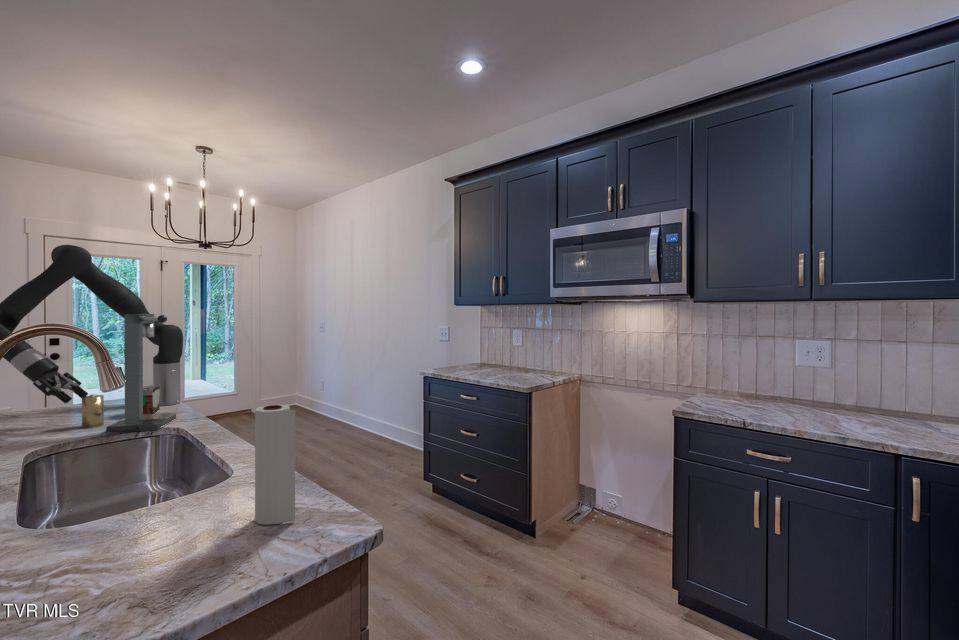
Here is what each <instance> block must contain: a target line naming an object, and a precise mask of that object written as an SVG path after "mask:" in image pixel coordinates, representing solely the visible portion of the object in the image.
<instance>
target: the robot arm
mask: <svg viewBox="0 0 959 640" xmlns="http://www.w3.org/2000/svg"><path fill="white" fill-rule="evenodd" d="M50 253H51V254H50V258H51V261H52V263H51V264H50V265H49V266H48V267H47V268H46V269H45V270H44V271H43V272H41V273H39V275H37V276H35V278H33V279H31V280H29V281H28V282H26V283H24V284H23V285H20V286H19V287H18V288H17V289H15V290H14V291H13V292H11V294H9V295H8V296H7V297H6V298H5V299H3V300H2V301H1V302H0V340H3V339H4V338H6V337H7V336H9V335H10V334H13V332H15V330H16V328H17V327H18V325H19V324H20V323H21V321H22V320H23V318H25V317H26V316H27V315H29V314H30V313H31V312H32V311H33V310H34V309H35V308H36V307H37V306H39V305H40V304H41V303H42V302H43V301H44V300H45V299H46V298H47V297H49V296H50V295H51V294H52V293H54V291H56V290H57V289H58V288H60V287H61V286H62V285H64V284H65V283H66V282H68V281H70V280H71V279H72V278H75V279H76V280H77V281H79V282H80V283H81V284H83V285H84V286H85V287H86V288H87V289H88V290H90V291H91V293H93V294H94V296H96V298H98V299H99V300H100V301H101V302H103V303H104V304H105V305H106V306H108V307H109V308H110V309H111V310H112V311H113V312H115V313H116V314H117V315H119V316H121V317H122V318H123V319H124V314H151V313H150V312H149V311H148V308H147V307H146V305H145V303H144V302H143V300H142V299H141V298H140V297H139V296H138V295H137V294H136V293H134V291H132V290H131V289H130V288H129V287H127V286H126V285H124V284H123V283H122V282H120V281H118V280H117V279H116V278H114V277H112V276H111V275H110V274H107V273H106V272H104V271H103V270H101V269H100V267H98V266H97V265H96V264H95V263H93V260H92V259H93V258H92V255H91V252H89V251H88V250H87V249H86V248H84V247H82V246H78V245H75V244H61V245H58V246H55V247H54V248H53V249H52V251H51V252H50ZM146 339H147V340H149V342H150V343H152V344H153V345H155V346H156V347H157V346H158V351H157V354H156V355H154V356H153V357H152V381H153V382H152V385H160V407H163V406H172V405H177V404H180V403H181V358H182V357H183V356H182V355H183V353H184V352H183V351H184V350H183V349H184V348H183V347H184V333H183V331H182V329H181V328H180V327H179V326H177V325H174V324H164V323H160V322H158V321H154V337H146ZM2 358H3V359H5V360H6V361H7V362H8V363H9V364H11V365H12V366H13V367H14V368H15V370H17V371H18V372H19V373H20V374H22V375H23V376H24V377H26V378H27V379H28V380H30V381H31V382H32V384H33V386H34V387H36V388H37V389H38V390H39V391H40V392H42V393H43V394H45V396H47V397H50V396H51V397H56V398H57V399H58V400H60V401H61V402H63V404H68V403H69V402H71V401H72V399H73V398H72V397H71V396H70V395H69V394H67V393H66V392H65V391H64V390H70V391H72V392H73V393H74V394H75V395H77V396H78V397H79V398H80V399H82V397H85V396H89V395H88V394H89V393H88V392H87V391H86V390H85V389H83V388H82V387H81V385H82V382H81V381H80V380H78V379H77V378H75V377H74V376H73V375H71V373H69V372H67V371H66V372H64V373H60V372H58V371H59V367H60V366H59V365H57V364H56V363H55V362H54V361H53V360H51V359H50V358H48V357H47V356H46V355H45V354H44V353H42V352H41V351H39V350H37V349H36V348H34V346H32V345H31V344H29V343H28V342H27V341H26V340H24V341H22V342H20V343H18V344H16V345H15V346H14V347H12V348H11V349H10V350H9V351H8V352H7V353H6V354H5V355H4V356H3V357H2ZM62 389H63V390H62ZM177 400H178V401H179V402H180V403H179V402H178V401H177Z"/></svg>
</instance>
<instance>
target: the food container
mask: <svg viewBox="0 0 959 640" xmlns="http://www.w3.org/2000/svg"><path fill="white" fill-rule="evenodd" d="M160 407H161V406H160V385H153V384H151V385H143V414H155V413H156V412H157V411H158V410H160ZM158 412H159V411H158ZM158 412H157V413H158ZM157 413H156V414H157Z"/></svg>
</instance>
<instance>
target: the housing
mask: <svg viewBox="0 0 959 640" xmlns="http://www.w3.org/2000/svg"><path fill="white" fill-rule="evenodd" d="M104 396H105V395H104V394H89V395H87V396H85V397H82V398H81V428H82V429H93V428H94V427H95V428H99V426H100V427H103V426H104V421H105V418H104V417H105V415H104V414H105V413H104V411H105V410H104V407H105V406H104ZM102 425H103V426H102ZM95 428H94V429H95Z"/></svg>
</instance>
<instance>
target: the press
mask: <svg viewBox="0 0 959 640" xmlns="http://www.w3.org/2000/svg"><path fill="white" fill-rule="evenodd" d="M123 320H124V326H123V327H124V329H123V330H124V331H123V332H124V333H123V334H124V340H123V341H124V342H123V343H124V344H123V345H124V417H123V418H122V419H119V420H118V421H116V422H114V423H112V424H110V425H108V426H106V428H105V431H106V432H117V433H133V432H150V431H153V432H154V431H159V430H160V429H161V428H160V427H161V426H163V425H165V424H167V423H169V422H171V421H172V420H174V419H176V420H177V413H176V412H167V413H166V412H165V413H156V414H143V387H144V376H143V375H144V373H143V372H144V367H143V365H144V364H143V363H144V360H143V359H144V358H143V356H144V355H143V354H144V352H143V351H144V348H143V347H144V345H143V344H144V342H143V338H147V337H154V321H158V322H160V323H163V324H164V323H166V322H167V321H168V317H167V316H166V315H165V314H161V315H159V316H155V313H150V314H124V318H123ZM125 380H126V382H125ZM174 421H175V420H174ZM172 422H173V421H172ZM172 422H171V423H172ZM169 424H170V423H169ZM167 425H168V424H167ZM106 432H105V433H106Z"/></svg>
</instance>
